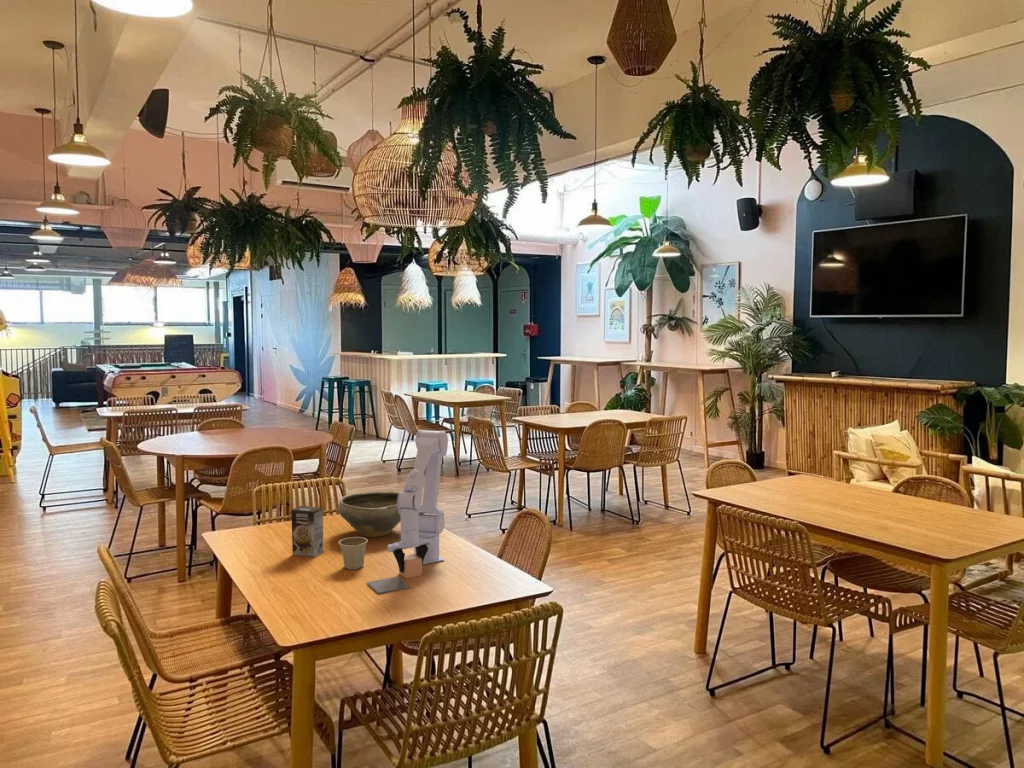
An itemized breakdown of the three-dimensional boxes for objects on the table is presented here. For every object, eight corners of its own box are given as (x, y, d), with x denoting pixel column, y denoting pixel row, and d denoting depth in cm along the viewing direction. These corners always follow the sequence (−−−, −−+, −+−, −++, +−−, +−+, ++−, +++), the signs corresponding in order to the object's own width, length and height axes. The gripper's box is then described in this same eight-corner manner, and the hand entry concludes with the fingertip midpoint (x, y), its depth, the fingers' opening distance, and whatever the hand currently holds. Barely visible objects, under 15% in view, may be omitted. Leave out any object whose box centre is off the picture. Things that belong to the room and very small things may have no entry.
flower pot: (345, 573, 236) (344, 547, 235) (335, 565, 243) (334, 540, 243) (372, 567, 241) (372, 542, 240) (361, 560, 249) (361, 535, 248)
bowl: (325, 533, 281) (324, 497, 280) (386, 520, 300) (385, 486, 299) (363, 548, 261) (362, 509, 260) (426, 533, 279) (425, 496, 278)
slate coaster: (366, 584, 226) (366, 582, 226) (397, 578, 231) (397, 576, 231) (378, 594, 217) (378, 592, 217) (409, 587, 222) (409, 585, 222)
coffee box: (291, 555, 254) (290, 509, 253) (302, 549, 261) (300, 505, 259) (314, 557, 252) (313, 511, 250) (324, 551, 258) (323, 506, 257)
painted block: (399, 573, 235) (398, 556, 235) (415, 570, 238) (414, 553, 238) (406, 578, 230) (405, 561, 230) (422, 575, 233) (421, 558, 233)
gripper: (393, 535, 226) (394, 577, 227) (435, 528, 233) (436, 569, 234) (384, 529, 232) (385, 571, 233) (426, 522, 239) (427, 563, 240)
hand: (410, 570), depth 234 cm, fingers closed on painted block, 5 cm apart
